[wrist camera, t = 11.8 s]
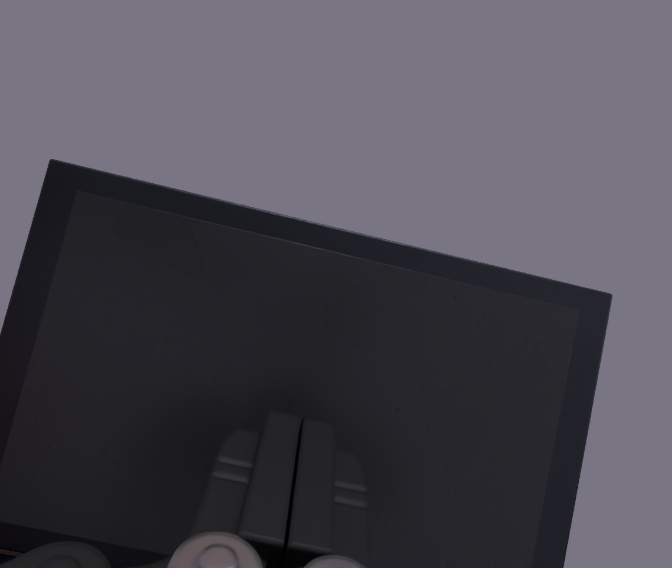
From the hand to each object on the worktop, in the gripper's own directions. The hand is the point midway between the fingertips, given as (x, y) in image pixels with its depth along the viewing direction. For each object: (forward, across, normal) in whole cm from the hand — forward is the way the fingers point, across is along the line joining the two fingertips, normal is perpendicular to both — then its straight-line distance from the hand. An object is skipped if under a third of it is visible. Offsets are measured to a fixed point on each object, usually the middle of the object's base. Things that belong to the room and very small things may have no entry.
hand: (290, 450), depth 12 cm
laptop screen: (+3, 0, +1) cm, 3 cm away
